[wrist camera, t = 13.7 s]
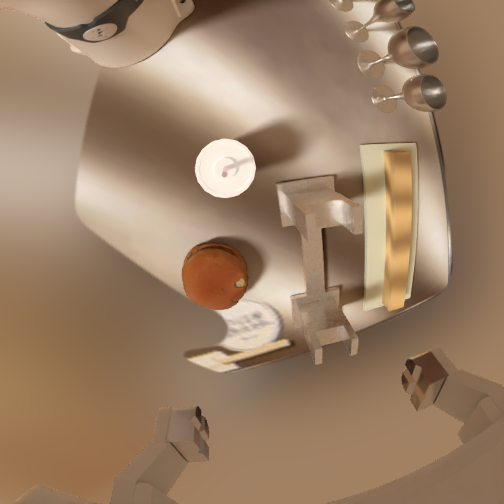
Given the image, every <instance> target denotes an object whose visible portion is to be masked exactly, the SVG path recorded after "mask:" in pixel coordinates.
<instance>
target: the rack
mask: <svg viewBox="0 0 504 504" xmlns="http://www.w3.org/2000/svg"><path fill="white" fill-rule="evenodd" d="M276 190H277V197H278V204H279V211H280V219H281V225H282V227H285V226H291V225H295V226H296V227H297V229H298V230H299V231H300V240H301V250H302V261H303V272H304V283H305V293H303V294H298V295H294V296H290V299H291V308H292V318H293V326H294V329H295V328H299V327H302V330H303V333H304V335H305V338H306V341H307V344H308V346H309V349H310V352H311V355H312V357H313V360H314V363H315V365H317V364H321V363H322V347H321V346H322V345H326V344H330V343H334V342H338V341H342V340H343V342H344V344H345V346H346V348H347V350H348V352H349V354H350V356H351V355H355V354H357V349H358V337H357V335H356V333H355V332H354V330H353V328H352V327H351V325H350V323H349V321H348V320H347V318H346V316H345V315H344V313H343V311H342V310H341V308H340V307H339V288H338V286H336V287H331V288H327V289H325V283H324V262H323V246H322V232H321V228H326V227H332V226H338V225H343V226H345V227H346V228H347V229H348V230H349V231H351V232H352V233H353V234H354V235H355V234H361V233H363V228H362V206H361V205H359V204H357V203H355V202H354V201H352V200H350V199H348V198H346V197H345V196H343V195H341V194H339V193H337V192H336V191H335V187H334V176H331V175H330V176H322V177H314V178H307V179H300V180H293V181H286V182H280V183H276Z"/></svg>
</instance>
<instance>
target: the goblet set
mask: <svg viewBox="0 0 504 504" xmlns="http://www.w3.org/2000/svg"><path fill="white" fill-rule="evenodd" d="M330 3H331V4H332V5H333V6H334V7H335V8H336V9H338V10H340V11H345V12H347V11H350V10H352V8H353V2H352V0H330ZM414 10H415V5H414V3H413V1H412V0H378V1H377V3H376V4H375V7H374V13H373V16H372V18H371V19H370V21H368V22H367V23H366V24H365V25H362V24H361V23H359V22H357V21H349V22H347V23H346V25H345V31H346V34H347V35H348V36H349V37H350V38H351V39H352V40H354V41H356V42H365V41H366V40H367V39H368V31H367V29H366V28H365V27H366V26H368V25H370V24H372V23H375V22H387V23H393V22H398V21H401V20H403V19H405V18H407V17H408V16H409V15H410V14H412V12H413V11H414ZM438 55H439V52H438V47H437V44H436V42H435V40H434V39H433V37H432V36H431V35H430V34H429V33H428V32H427V31H426V30H424V29H422V28H420V27H416V26H413V27H407V28H403V29H401V30H399V31H397V32H396V33H395V34H394V35H393V36H392V37H391V38H390V40H389V43H388V54H387V55H386V56H385V57H383V58H381V57H380V56H379V55H378V54H376V53H375V52H373V51H369V50H365V51H362V52H361V53H360V54H359V55H358V59H357V62H358V66H359V68H360V70H361V71H362V72H363V73H364V74H365V75H366V76H368V77H370V78H379V77H381V76H382V75H383V73H384V70H385V67H384V63H383V61H385V60H393V61H394V62H396V63H397V64H399V65H401V66H403V67H406V68H412V69H419V68H424V67H427V66H429V65H431V64H433V63H435V62H436V61H437V59H438ZM396 99H404V100H405V102H406V103H407V104H408V105H409V106H411V107H412V108H414V109H416V110H419V111H423V112H432V111H436V110H440V109H442V108H443V107H444V105H445V104H446V91H445V88H444V86H443V84H442V83H441V81H440V80H439V79H438V78H437V77H435V76H433V75H426V74H424V75H423V74H422V75H416V76H413V77H411V78H409V79H408V80H407V81H406V82H405V83H404V85H403V88H402V93H400V94H398V95H394V93H393V91H392V90H391V89H390V88H388V87H387V86H384V85H379V86H376V87H375V88H374V89H373V91H372V101H373V103H374V105H375V107H376V108H377V109H378V110H380V111H381V112H384V113H389V112H391V111H393V110H394V108H395V106H396Z"/></svg>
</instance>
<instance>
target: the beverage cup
mask: <svg viewBox="0 0 504 504" xmlns="http://www.w3.org/2000/svg"><path fill="white" fill-rule="evenodd" d="M255 170H256V166H255V161H254V157H253V155H252V154H251V152H250V151H249V149H248V148H247V147H246V146H245V145H243V144H241V143H240V142H238V141H236V140H230V139H221V140H217V141H213V142H211V143H210V144H209V145H207V146H206V147H204V148H203V149H202V151H201V152H200V154H199V156H198V157H197V160H196V166H195V173H196V176H197V180H198V182H199V184H200V185H201V186H202V188H203V189H204V190H205V191H206V192H208V193H210V194H211V195H213V196H215V197H222V198H229V197H233V196H237V195H239V194H240V193H242V192H243V191H245V190H246V189H247V188H248V187H249V185H250V184H251V182H252V181H253V179H254V175H255Z"/></svg>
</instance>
